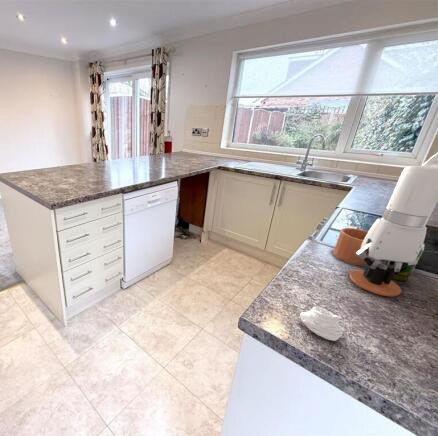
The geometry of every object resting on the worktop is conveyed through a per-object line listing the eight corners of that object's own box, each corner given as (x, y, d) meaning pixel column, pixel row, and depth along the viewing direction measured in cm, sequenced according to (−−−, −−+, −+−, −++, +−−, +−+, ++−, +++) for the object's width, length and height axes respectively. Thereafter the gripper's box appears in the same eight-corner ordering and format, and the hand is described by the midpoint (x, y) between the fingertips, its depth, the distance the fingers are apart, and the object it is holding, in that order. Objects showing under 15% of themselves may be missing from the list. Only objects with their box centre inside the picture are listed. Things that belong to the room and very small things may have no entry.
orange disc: (383, 276, 71) (391, 258, 69) (410, 301, 61) (421, 281, 59) (341, 271, 73) (348, 253, 71) (361, 294, 64) (370, 274, 61)
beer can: (377, 271, 73) (393, 235, 69) (399, 275, 72) (417, 238, 67) (387, 282, 69) (405, 244, 64) (410, 286, 67) (431, 248, 63)
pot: (360, 252, 84) (369, 229, 81) (377, 268, 75) (389, 243, 72) (328, 248, 86) (335, 226, 83) (341, 263, 77) (350, 239, 74)
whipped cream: (295, 328, 54) (298, 312, 52) (302, 310, 58) (306, 294, 56) (340, 348, 49) (346, 330, 47) (344, 326, 53) (350, 309, 51)
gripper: (432, 215, 61) (401, 276, 68) (357, 209, 65) (335, 267, 72) (460, 228, 54) (422, 294, 62) (374, 220, 58) (348, 283, 65)
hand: (375, 279), depth 67 cm, fingers closed on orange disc, 3 cm apart
